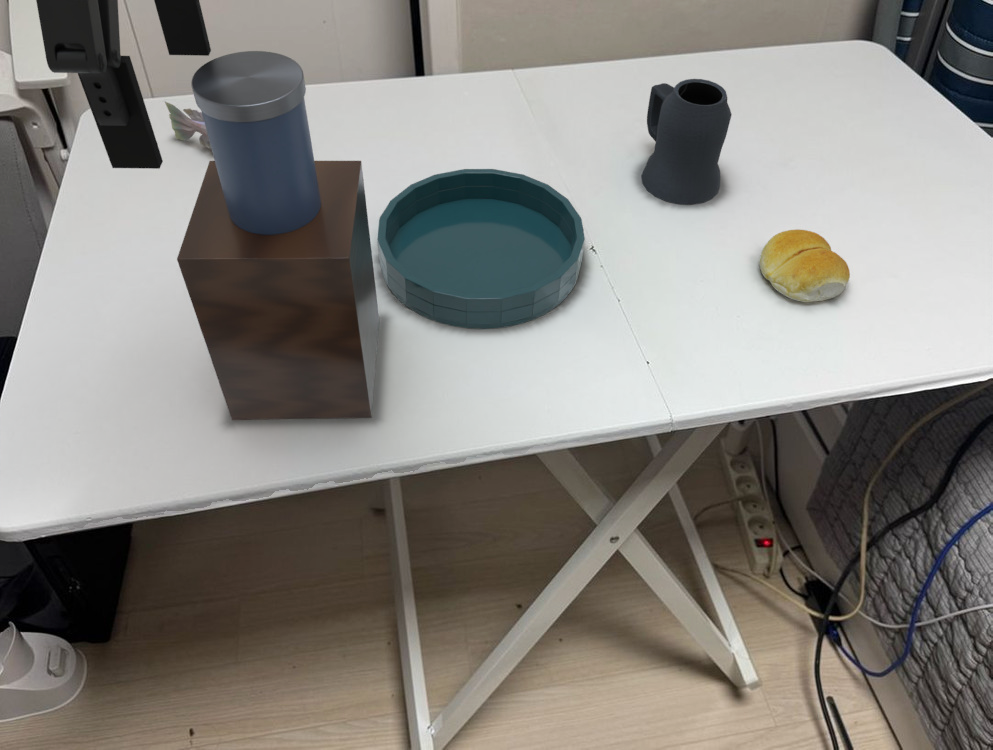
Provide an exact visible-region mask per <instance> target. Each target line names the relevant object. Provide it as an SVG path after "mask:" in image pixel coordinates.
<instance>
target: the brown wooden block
mask: <svg viewBox="0 0 993 750" xmlns="http://www.w3.org/2000/svg"><path fill="white" fill-rule="evenodd" d="M314 162H315V168H316V174H317V180H318V186H319V192H320V199H321V207H320V210H319V212H318V214H317V215H316V217H315V218H314V219H313V220H312V221H310V222H309V223H308V224H306V225H305V226H303V227H301V228H299V229H297V230H294V231H291V232H287V233H283V234H276V235H261V234H255V233H251V232H248V231H245V230H243V229H241V228H239V227H238V226H236V225H235V224H234V223H233V221H232V220H231V218H230V216H229V212H228V209H227V205H226V201H225V197H224V194H223V190H222V186H221V182H220V179H219V175H218V171H217V167H216V164H215V160H209V161H208V165H207V168H206V171H205V173H204V176H203V180H202V183H201V186H200V189H199V192H198V195H197V198H196V200H195V204H194V206H193V208H192V209H193V210H192V213H191V216H190V219H189V221H188V225H187V228H186V231H185V233H184V235H183V236H184V237H183V239H182V243H181V245H180V247H179V248H180V249H179V252H178V255H177V257H176V261H177V263H178V267H179V269H180V272H181V275H182V278H183V281H184V284H185V288H186V289H187V293H188V295H189V298H190V302H191V304H192V308H193V310H194V313H195V316H196V320H197V323H198V325H199V328H200V331H201V334H202V337H203V340H204V342H205V346H206V349H207V352H208V354H209V358H210V360H211V364H212V366H213V369H214V372H215V375H216V379H217V380H218V383H219V387H220V390H221V392H222V396H223V398H224V401H225V404H226V408H227V410H228V413H229V417H230V418H231V420H234V421H235V420H295V419H297V420H298V419H299V420H300V419H301V420H302V419H303V420H304V419H305V420H306V419H307V420H308V419H309V420H311V419H371V418H372V416H373V404H374V391H375V381H376V380H375V379H376V369H377V368H376V367H377V356H378V354H377V353H378V343H379V329H380V315H379V314H380V313H379V306H378V296H377V288H376V280H375V279H376V278H375V271H374V270H375V269H374V261H373V253H372V244H371V235H370V226H369V217H368V209H367V207H368V206H367V199H366V198H367V197H366V191H365V182H364V181H365V180H364V174H363V173H364V172H363V163H362V160H314Z"/></svg>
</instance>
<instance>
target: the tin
mask: <svg viewBox="0 0 993 750" xmlns="http://www.w3.org/2000/svg"><path fill="white" fill-rule="evenodd" d="M190 83H191V89H192V93H193V97H194V101H195V104H196V106H197V108H198V109H199V110H200V112H202V115H203V119H204V122H205V126H206V130H207V134H208V137H209V141H210V145H211V148H210V149H211V152H212V156H213V159H214V160H213V161H215V164H216V167H217V171H218V175H219V179H220V182H221V186H222V190H223V194H224V197H225V201H226V205H227V209H228V212H229V216H230V218H231V220H232V221H233V223H234V224H235V225H236V226H238V227H239V228H241V229H243V230H245V231H248V232H251V233H255V234H261V235H276V234H283V233H287V232H291V231H294V230H297V229H299V228H301V227H303V226H305V225H306V224H308V223H309V222H310V221H312V220H313V219H314V218H315V217H316V215H317V214H318V212H319V210H320V207H321V199H320V192H319V186H318V180H317V174H316V168H315V162H314V161H315V156H314V149H313V143H312V138H311V132H310V124H309V119H308V113H307V106H306V99H305V97H306V93H307V92H306V91H307V87H306V82H305V76H304V70H303V69H302V67H301V66H300V64H299V63H298V62H297V61H296V60H295V59H292V58H291V57H289V56H287V55H284V54H281V53H278V52H273V51H264V50H247V51H238V52H232V53H227V54H224V55H221V56H218V57H216V58H213V59H211V60H209V61H208V62H206V63H204V64H202V65H201V66H200V67H199V68H198V69H196V71H195V72H194V74H193V76H192V78H191V82H190Z"/></svg>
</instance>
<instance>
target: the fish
mask: <svg viewBox="0 0 993 750" xmlns="http://www.w3.org/2000/svg"><path fill="white" fill-rule="evenodd" d="M164 103H165V106H166V108H167V110H168V113H169V115H168V116H169V119H170V122H171V129H172V131H174V136H175V137H174V138H175V139H176V140H181V141H188V140H190V139H191V138H192V137H193V136H194V135H195V133H199V134H200V136H199V139H198V142H199V144H200V145H201V146H203V147H206V148H208V149H211V145H210V141H209V137H208V134H207V130H206V126H205V122H204V119H203V115H202V111H199V110H198V109H192V108H183V109H182V110H181V109H180V108H178V107H176V105H174V104H172V103H169V102H167V101H164Z"/></svg>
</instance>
